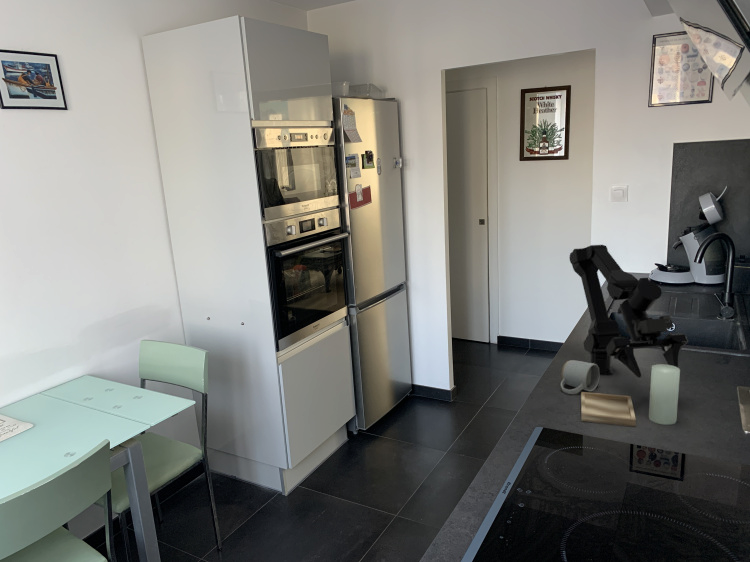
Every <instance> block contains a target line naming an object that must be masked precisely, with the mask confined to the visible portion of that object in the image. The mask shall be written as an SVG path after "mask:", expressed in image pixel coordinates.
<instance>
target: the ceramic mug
mask: <svg viewBox="0 0 750 562" xmlns="http://www.w3.org/2000/svg"><path fill="white" fill-rule="evenodd" d="M560 375H561V379H562V380H561V381H560V388H561V390H562V392H563V393H565V394H568V395H575V394H578V393H580V392H582V390H583V391H585V392H589V393H592V392H593V391H594V390H595V389H597V386H598V385H599V381H600V375H601V374H600V372H599V367H598V366H597V365H596V364H594V363H590V362H586V361H580V360H575V359H572V360H571V359H570V360H567V361H566V362H565V363H564V364H563V366H562V369H561V374H560ZM565 384H566V385H568V386H570V387H573V388H572V389H567V388H565V387H564V386H565Z"/></svg>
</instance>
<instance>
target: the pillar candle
mask: <svg viewBox="0 0 750 562" xmlns="http://www.w3.org/2000/svg"><path fill="white" fill-rule="evenodd" d="M650 373H651V375H650V388H649V390H650V391H649V406H648V419H649V420H650V421H651V422H652V423H656V424H660V425H665V426H668V425H674V424H676V423H677V420H678V419H677V416H678V403H679V391H680V390H679V388H680V374H681V369H680V368H679V367H678V368H677V367H675V366H672V365H668V363H667V364H663V363H658V364H657V363H656V364H653V365H651V371H650Z"/></svg>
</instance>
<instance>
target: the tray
mask: <svg viewBox="0 0 750 562" xmlns="http://www.w3.org/2000/svg"><path fill="white" fill-rule="evenodd" d="M580 392H581V393H580V394H581V395H580V407H581V408H580V409H581V410H580V413H581V417H580V419H581V422H585V423H594V424H605V425H615V426H620V427H621V426H623V427H624V426H625V427H631V428H632V427H633V428H635V427H636V426H637V425H636V421H637V419H636V416H635V415H636V414H635V410H634V405H633V401H632V397H631V395H621V394H609V393H597V392H589V391H580Z"/></svg>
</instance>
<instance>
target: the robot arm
mask: <svg viewBox="0 0 750 562" xmlns="http://www.w3.org/2000/svg"><path fill="white" fill-rule="evenodd" d="M569 262H570V264H571V266H572V269H573V271H574V272H575V273H576V274H577V275H578V276H579V277H580V278H581V283H582V287H583V290H584V295H585V300H586V305H587V308H588V312H589V316H590V319H591V320H590V321H591V322H590V326H589V328H588V330H587V332H588V335H587V336H586V338H585V339H584V341H583V348H584V351H586V352H588V354H589V355H590V356H589V357H590V362H589V363H594V364H596V365H597V366H598V367H599V372H600V375H613V367H612V365H611V364H612V357H613V359H614V360H615V359H616V360H618V361H619V362H620V363H622V364H623V365H624V366H625V367H627V368H628V369H629V370H630V371H631V372H632V373H633V375H635V377H637V378H638V379H639V378H641V377H642V373H641V370H640V367H639V365H638V362H637V359H636V357H635V355H634V353H635V352H634V349H635V350H637V349H639V350H641V349H653V348H655V349H656V348H661V350H662V352H664V353H663V354H662V355H663V357H664V359H665V361H666V363H667V365H672V366H675V367H677V368H679V353H680V351H681V350H682V349H683V347H685V346H686V345H687V344H688V343H689V339H688V338H687V336H686V334H685V333H682V332H678V333H677V332H675V333H668V334H667V335H666V336H665V337H664V338H662V339H660V337H661V335H662V333H663V332H665V333H666V332H668V329H672V328H673V326H674V323H673V319H672V318H671V316H670V314H668V315H667V314H666V315H661V316H659V317H658V318H653V317H649V315H648V313H647V311H649V310H650V309H651V308H652V307H653V306H654V305H655V303H656V302H657V301H658V300H659V299H660V298H661V296H662V289H661V287H660V286H659V285H658V284H657V283H656V282H655V283H654V282H653V281H650V280H649V278H648V277H640V278H639V279H638V278H637V277H636V276H635V275H633V274H631V273H629V272H626V271H624V270H623V269H622V268H621V266H620V265H619V264H618V262H617V261H616V260H615V258H614V257H613V256H612V255H611V253H610V252H609V251H608V246H607V245H604V244H591V245H588V246H586V247H583V248H582V247H580V248H573V250H572V251H571V252H570V253H569ZM598 272H600V273H601V274H602V276H603V278H604V279H605V280H606V283H607V285H606V290H607V292H608V294H609V296H610V297H611V299H612V300H613V301H622V302H621V303H619V307H618V308H617V315H620V314H621V315H622V318H623V320H624V323H625V325H626V327H625V329H624V331H625V333H626V334H629V337H628V336H622V335H621V332H620V329H619V325H618V322H617V321H616V320H612V319H611V318H610V316H609V314H608V310H607V307H606V306H607V305H606V301H605V298H604V294H603V291H602V285H601V282H600V279H599V278H600V277H599V274H598ZM658 338H659V339H658Z"/></svg>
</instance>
